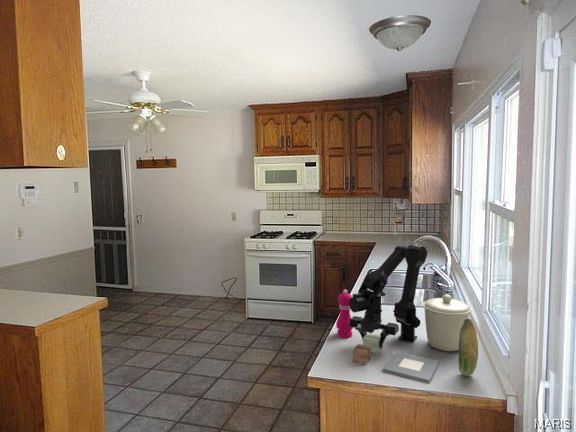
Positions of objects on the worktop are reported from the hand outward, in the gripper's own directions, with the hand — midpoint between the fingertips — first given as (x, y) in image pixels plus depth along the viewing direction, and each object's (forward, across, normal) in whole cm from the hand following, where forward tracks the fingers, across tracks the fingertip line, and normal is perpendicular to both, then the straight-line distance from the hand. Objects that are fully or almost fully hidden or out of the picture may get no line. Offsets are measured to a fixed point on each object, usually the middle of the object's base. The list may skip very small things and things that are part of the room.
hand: (372, 346), depth 160 cm
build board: (+1, +17, -8) cm, 19 cm away
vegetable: (+1, +35, -5) cm, 35 cm away
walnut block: (+1, 0, -12) cm, 12 cm away
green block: (+1, 0, 0) cm, 1 cm away
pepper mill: (+1, -15, +7) cm, 17 cm away
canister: (+1, +24, +17) cm, 29 cm away
